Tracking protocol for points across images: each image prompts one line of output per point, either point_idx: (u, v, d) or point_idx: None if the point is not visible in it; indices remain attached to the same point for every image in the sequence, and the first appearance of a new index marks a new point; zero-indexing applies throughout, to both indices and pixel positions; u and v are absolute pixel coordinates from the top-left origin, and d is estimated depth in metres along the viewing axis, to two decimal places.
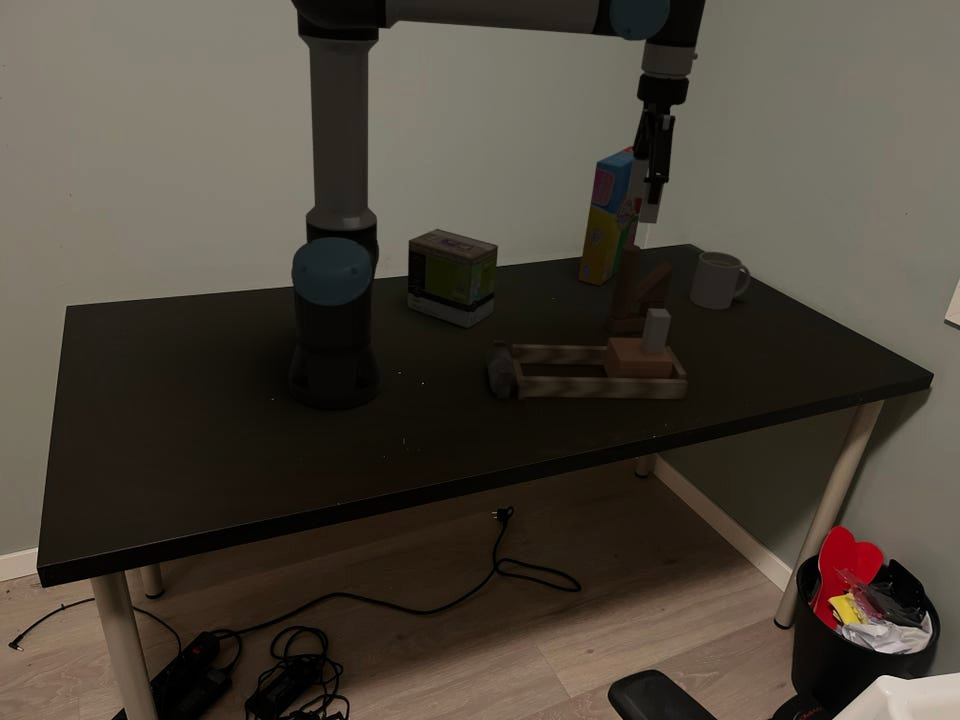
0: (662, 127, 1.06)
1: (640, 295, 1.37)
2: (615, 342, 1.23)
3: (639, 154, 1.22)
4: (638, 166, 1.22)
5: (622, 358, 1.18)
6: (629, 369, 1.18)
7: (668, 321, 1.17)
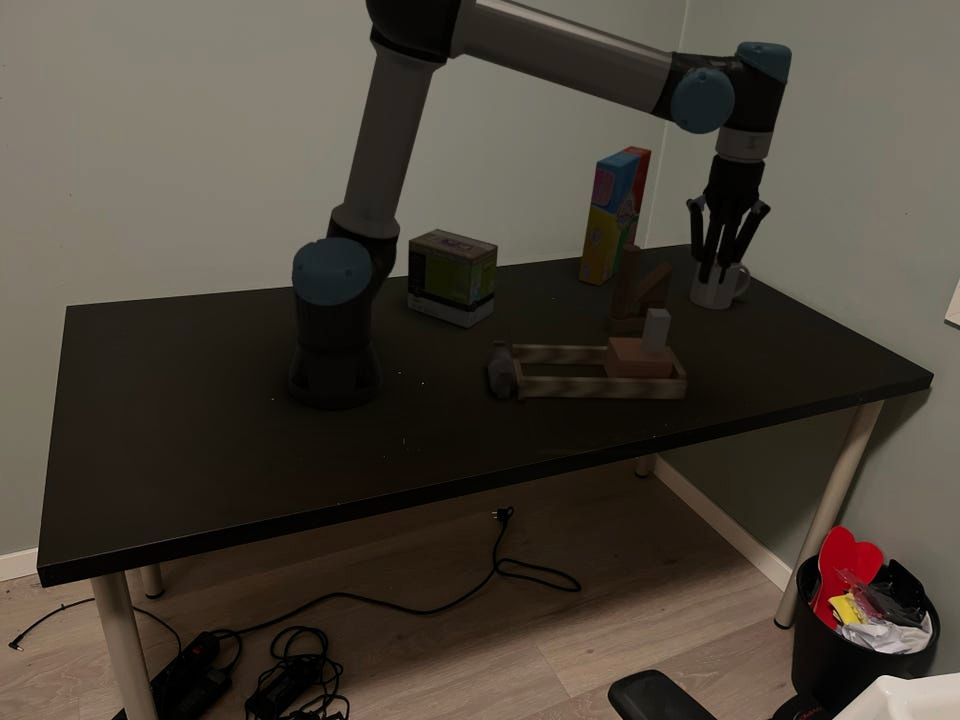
0: (691, 211, 1.10)
1: (640, 295, 1.37)
2: (615, 342, 1.23)
3: (719, 258, 1.14)
4: None
5: (622, 358, 1.18)
6: (629, 369, 1.18)
7: (668, 321, 1.17)
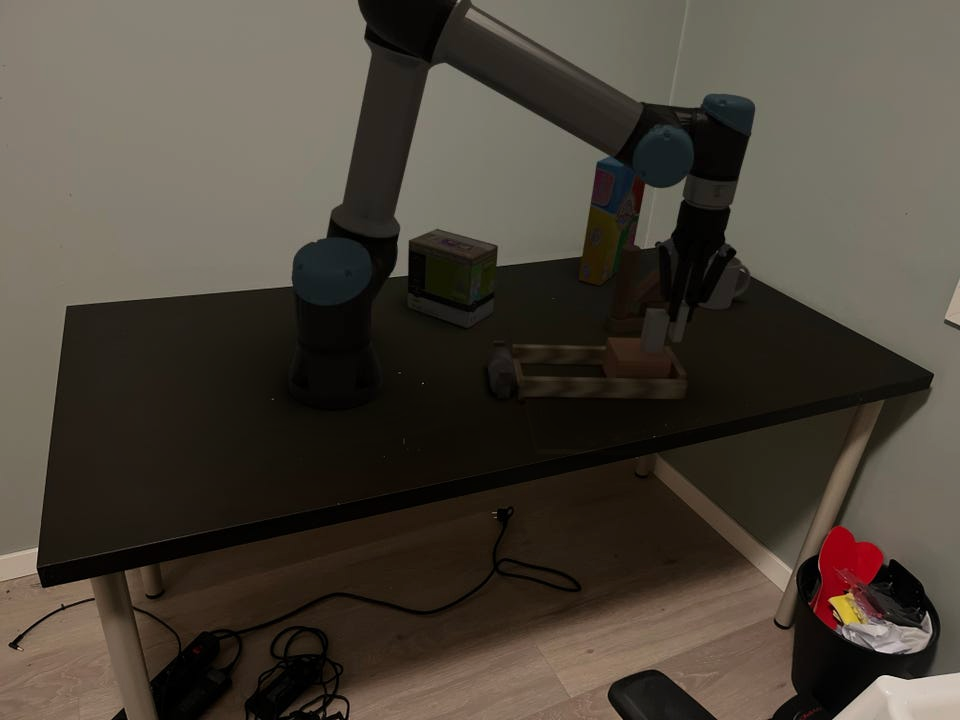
0: (660, 253, 1.13)
1: (640, 295, 1.37)
2: (614, 342, 1.23)
3: (687, 298, 1.17)
4: None
5: (620, 358, 1.18)
6: (628, 369, 1.18)
7: (667, 321, 1.17)
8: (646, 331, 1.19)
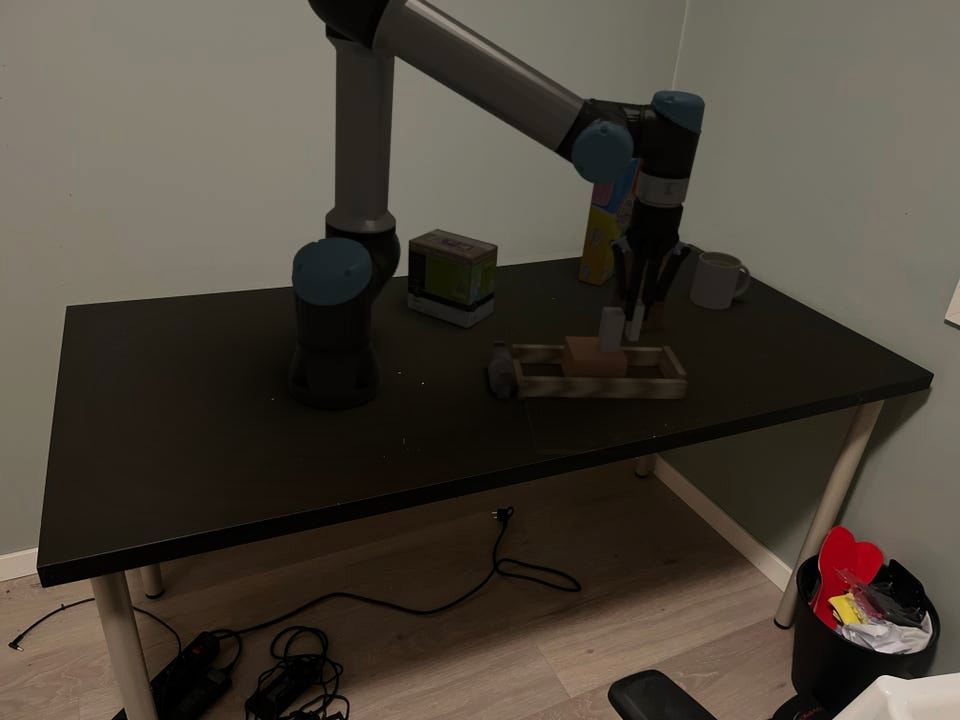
0: None
1: (640, 295, 1.37)
2: (571, 341, 1.22)
3: (643, 296, 1.16)
4: None
5: (576, 357, 1.17)
6: (583, 368, 1.17)
7: (622, 320, 1.16)
8: (602, 330, 1.18)
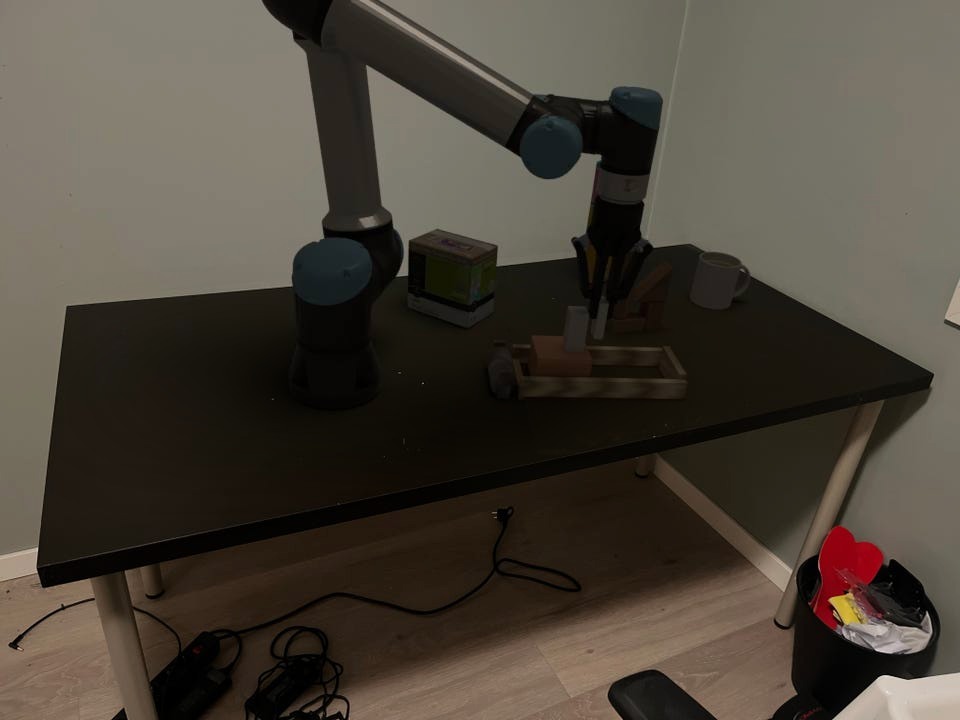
0: None
1: (640, 295, 1.37)
2: (537, 340, 1.21)
3: (607, 294, 1.16)
4: None
5: (540, 356, 1.16)
6: (548, 367, 1.16)
7: (586, 319, 1.16)
8: (567, 329, 1.17)
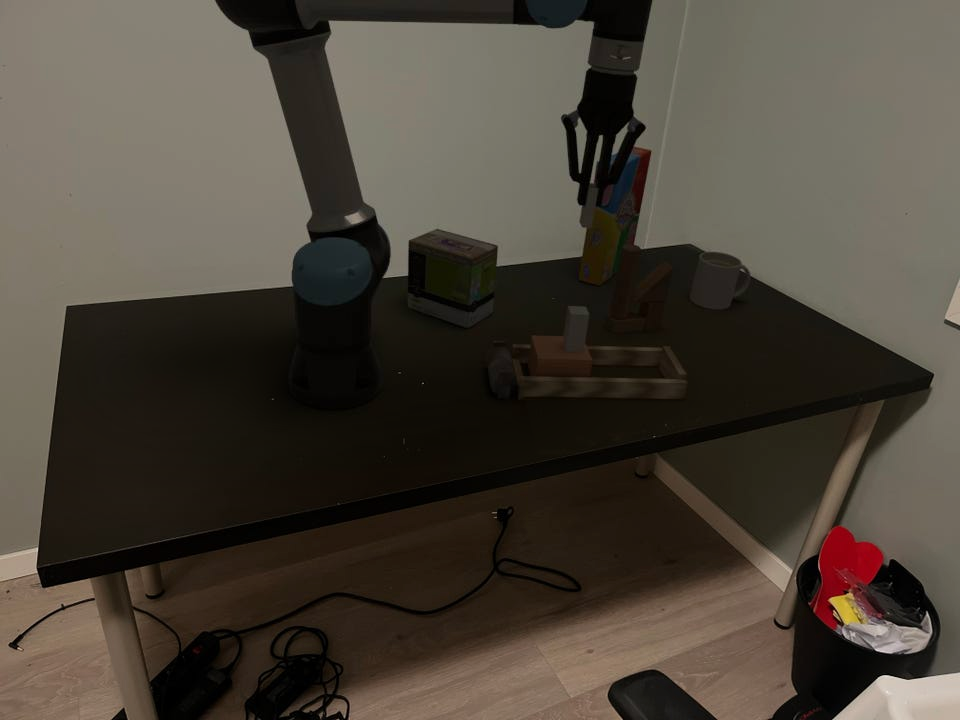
0: (566, 127, 1.08)
1: (640, 295, 1.37)
2: (537, 340, 1.21)
3: (597, 180, 1.12)
4: None
5: (540, 356, 1.16)
6: (548, 367, 1.16)
7: (586, 319, 1.16)
8: (567, 329, 1.17)
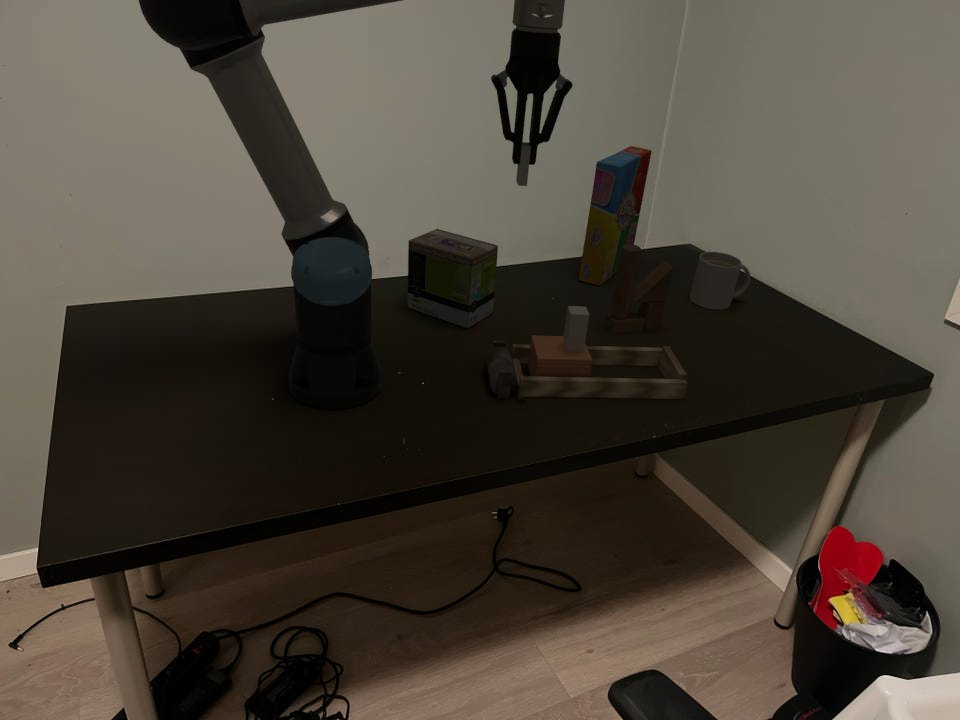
0: None
1: (640, 295, 1.37)
2: (537, 340, 1.21)
3: (530, 138, 1.16)
4: None
5: (540, 356, 1.16)
6: (548, 367, 1.16)
7: (586, 319, 1.16)
8: (567, 329, 1.17)
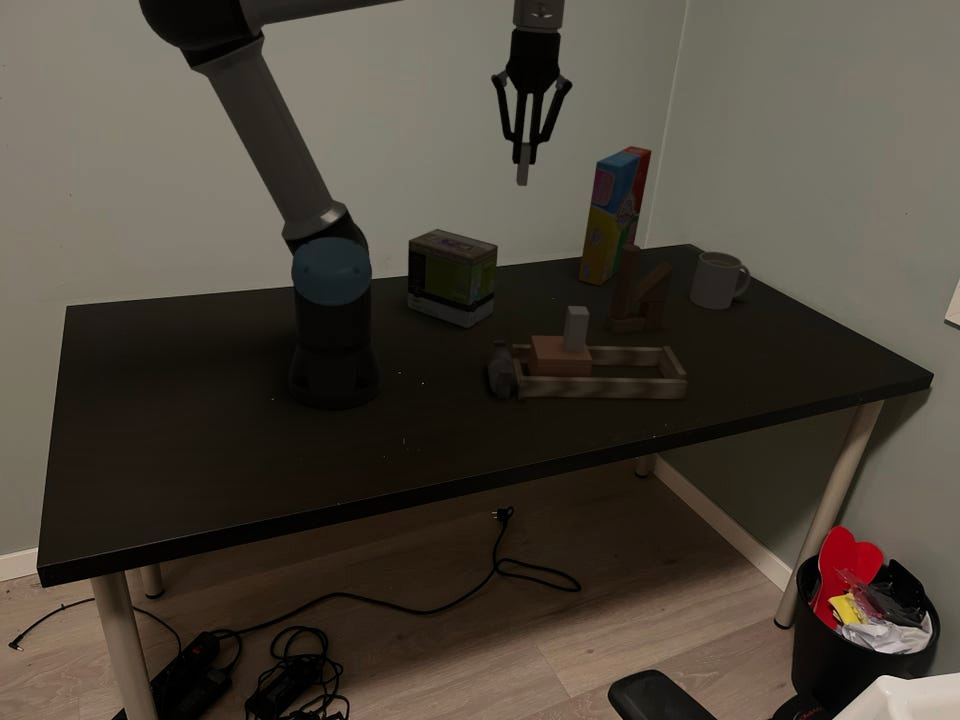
0: None
1: (640, 295, 1.37)
2: (537, 340, 1.21)
3: (530, 138, 1.16)
4: None
5: (540, 356, 1.16)
6: (548, 367, 1.16)
7: (586, 319, 1.16)
8: (567, 329, 1.17)
